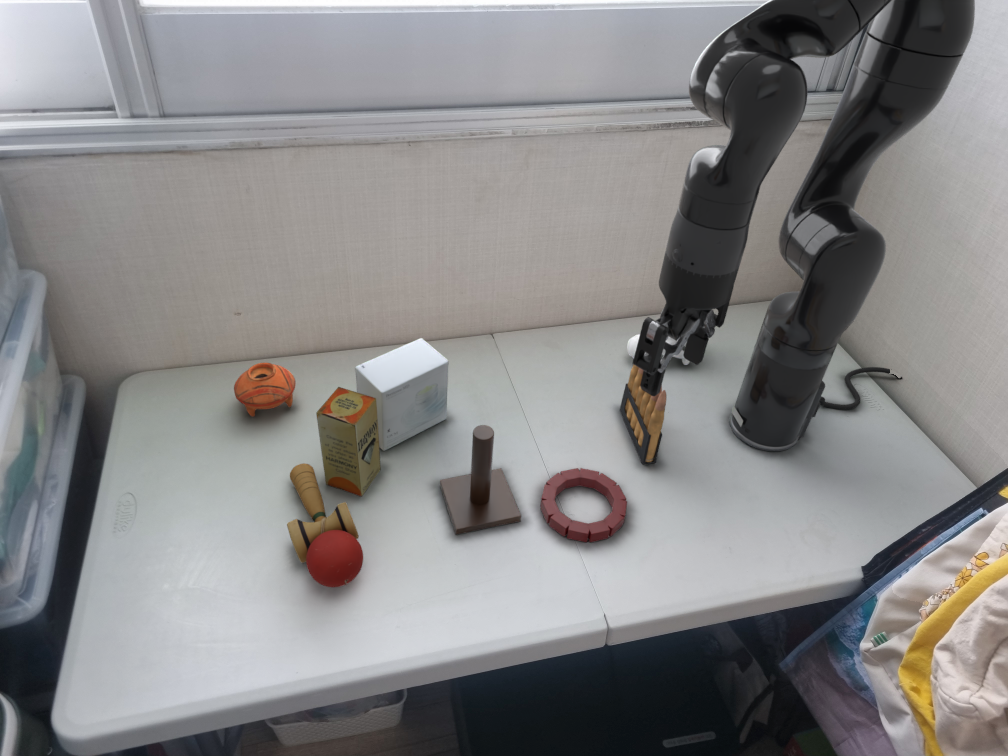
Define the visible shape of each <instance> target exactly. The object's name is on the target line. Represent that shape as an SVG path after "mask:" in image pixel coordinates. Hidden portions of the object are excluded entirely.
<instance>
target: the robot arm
mask: <svg viewBox="0 0 1008 756" xmlns="http://www.w3.org/2000/svg"><path fill="white" fill-rule="evenodd" d="M975 1H976V0H768V1H766V2H764V3H763V4H761V5H760V6H759V7H757V8H756V9H754V10H753V11H751V12H749V13H748V14H746V15H745V16H743V17H742V18H741V19H739V20H738V21H736V22H734V23H733V24H732V25H730V26H729V27H727V28H726V29H725V30H723V31H722V32H720V34H718V35H717V36H716V37H715V38H713V40H711V41H710V43H709V44H708V45H707V46H706V47H705V48H704V49H703V51H702V52H701V54H700V55H699V57H698V58H697V59H696V62H695V64H694V66H693V68H692V70H691V73H690V77H689V81H688V95H689V99H690V101H691V104H692V105H693V107H694V108H695V109H696V110H697V111H698V112H699V113H701V114H702V115H704V116H706V117H707V118H708V119H711V121H714V122H715V123H718V124H719V125H721V126H723V127H724V128H725V129H728V130H729V131H730V134H729V137H728V141H727V143H726V145H725V144H724V145H720V144H715V145H707V146H703V147H701V148H699V149H698V150H697V151H695V152H694V153H693V155H692V156H691V158H690V160H689V163H688V165H687V168H686V172H685V176H684V180H683V183H682V189H681V192H680V193H681V194H680V198H679V202H678V206H677V209H676V212H675V215H674V218H673V220H672V223H671V226H670V230H669V234H668V238H667V243H666V248H665V252H664V256H663V261H662V265H661V270H660V273H659V278H658V288H659V290H660V291H661V293H662V295H663V297H664V300H665V304H664V306H663V308H662V310H661V312H660V314H659V315H660V316H659V318H657V319H653V318H651V317H649V316H647V317H646V318H645V319H644V320H643V322H642V326H641V329H640V333H639V334H640V336H639V340H638V344H637V348H636V352H635V356H634V359H633V360H632V365H633V364H634V365H635V366H637V367H639V368H640V369H642V370H644V371H643V375H642V379H641V384H640V387H641V389H642V390H643V391H645V392H647V393H648V394H650V395H651V396H656V395H657V394H659V393H660V389H661V385H662V386H663V381H664V377H665V374H666V368H667V367H668V365H669V363H670V362H671V360H672V358H674V357H673V356H674V355H678V354H679V353H680V352H681V350H683V349H684V350H683V351H684V354H683V356H684V358H685V359H687V360H688V361H690V363H692V364H694V365H696V366H697V365H700V364H701V363H703V360H704V357H705V353H706V349H707V347H708V343H709V341H710V339H711V338H712V337H713V336H714V335H715V332H716V327H717V328H719V329H720V328H721V327H722V326H723V325H724V324H725V321H726V317H727V313H728V309H729V306H730V302H731V299H732V294H733V290H734V286H735V283H736V279H737V276H738V273H739V269H740V267H741V263H742V260H743V256H744V253H745V250H746V246H747V242H748V237H749V231H750V224H751V220H752V217H753V214H754V210H755V207H756V203H757V200H758V198H759V194H760V189H761V186H762V184H763V182H764V180H765V179H766V177H767V176H768V174H769V172H770V170H771V168H772V167H773V166H774V164H775V163H776V161H777V159H778V158H779V156H780V154H781V153H782V151H783V149H784V148H785V146H786V144H787V143H788V141H789V140H790V138H791V137H792V135H793V134H794V132H795V130H796V128H797V127H798V125H799V124H800V122H801V120H802V118H803V115H804V113H805V110H806V107H807V102H808V93H809V92H808V89H809V88H808V80H807V77H806V73H805V71H804V70H803V68H802V67H801V65H800V64H798V63H797V62H796V61H794V59H796V58H803V57H804V58H805V57H806V58H807V57H808V58H816V59H817V58H818V59H824V58H830V57H832V56H835V55H837V54H838V53H840V52H841V51H842V50H843V49H845V47H847V45H848V44H850V43H851V42H852V41H853V40H854V39H855V38H856V37H857V36H858V35H859V34H860V33H861V32H862V31H863V30H864V29H865V28H866V31H865V33H864V35H863V38H862V40H861V43H860V46H859V47H858V50H857V53H856V56H855V58H854V60H853V61H854V62H853V64H852V66H851V70H850V72H849V75H848V77H847V81H846V84H845V86H844V89H843V92H842V94H841V97H840V99H839V101H838V104H837V106H836V109H835V111H834V113H833V116H832V118H831V120H830V123H829V125H828V127H827V130H826V132H825V134H824V137H823V139H822V142H821V144H820V147H819V149H818V151H817V153H816V155H815V157H814V159H813V161H812V163H811V165H810V167H809V169H808V170H807V173H806V174H805V177H804V178H803V181H802V183H801V185H800V186H799V188H798V190H797V192H796V194H795V196H794V198H793V200H792V202H791V204H790V206H789V207H788V209H787V211H786V214H785V216H784V219H783V221H782V224H781V226H780V229H779V232H778V238H777V244H778V245H777V246H778V250H779V253H780V255H781V257H782V259H783V260H784V261H785V263H786V264H787V266H789V267H790V268H791V269H792V270H793V271H794V272H795V273H796V274H797V275H798V277H799V278H800V279H801V280H802V284H801V287H800V290H799V291H798V290H797V291H796V290H794V291H786V292H781V293H780V294H778V295H776V296H775V297H773V298H772V299H771V301H770V302H769V304H768V306H767V309H766V312H765V316H764V318H763V320H762V324H761V326H760V328H759V329H760V330H759V332H758V336H757V339H756V341H755V345H754V347H753V350H752V354H751V356H750V359H749V362H748V365H747V368H746V371H745V374H744V377H743V380H742V383H741V385H740V388H739V392H738V394H737V397H736V399H735V403H734V405H733V406H732V408H731V412H730V414H729V415H730V416H729V426H730V428H731V430H732V432H733V433H734V435H735V436H736V437H737V438H738V439H740V441H742V442H744V443H745V444H747V445H749V446H751V447H752V448H755V449H758V450H762V451H767V452H783V451H786V450H789V449H791V448H792V447H794V446H795V445H796V444H797V442H798V440H799V439H801V438H804V437H805V435H806V432H807V430H808V428H809V425H810V424H811V421H812V418H816V416H817V413H818V412H819V409H820V407H824V408H828V409H833V410H840V411H841V410H842V411H847V410H853V409H856V408H858V407H859V405H860V404H861V396H860V394H859V392H858V390H857V389H856V388H855V386H854V385H853V383H852V381H851V378H852V377H854V376H857V375H861V374H864V373H884V374H888V375H890V376H893V377H895V378H896V379H897V380H900V379H899V378H898V377H897V376H896V375H894V374H889V373H890V369H891V368H886V367H879V366H868V367H861V368H856V369H853V370H851V371H849V372H848V373H846V375H845V376H844V383H845V385H846V387H847V388H848V390H849V392H850V393H851V395H852V396H853V398H854V402H852V403H848V404H839V403H832V402H828V401H826V398H825V397H823V396H822V395H823V393H824V390H825V388H826V383H825V382H824V377H825V374H826V373H827V370H828V367H829V365H830V362H831V360H832V358H833V355H834V353H835V351H836V349H837V346H838V344H839V341H840V340H841V338H842V335H843V334H844V333H845V332H846V331H847V330H848V328H850V327H851V325H852V324H853V323H854V322H855V320H856V318H857V317H858V315H859V314H860V311H861V309H862V308H863V306H864V303H865V301H866V300H867V297H868V296H869V293H870V292H871V290H872V288H873V286H874V284H875V282H876V280H877V278H878V276H879V275H880V272H881V269H882V267H883V264H884V261H885V257H886V252H887V248H886V247H887V245H886V244H887V243H886V240H885V237H884V235H883V234H882V233H881V232H880V230H878V228H876V227H875V226H874V225H872V223H871V222H869V221H868V220H867V219H865V218H864V217H863V216H862V215H861V214H860V213H858V212H857V211H856V210H855V208H856V203H857V200H858V199H859V195H860V192H861V190H862V188H863V185H864V184H865V181H866V179H867V177H868V175H869V174H870V171H872V168H873V167H874V165H875V163H877V161H878V160H879V158H880V157H881V156H882V155H883V154H884V153H885V152H886V151H888V150H889V149H890V148H891V147H892V146H893V145H894V144H896V143H897V142H898V141H900V140H901V139H902V138H903V137H904V136H906V135H907V134H908V133H910V132H911V131H913V129H915V128H916V127H917V126H918V125H919V124H920V123H921V122H923V121H924V120H925V119H926V118H927V117H928V116H929V115H930V114H932V112H933V111H934V110H935V108H937V106H938V105H939V103H940V102H941V101H942V99H943V97H944V95H945V94H946V92H947V90H948V88H949V85H950V84H951V81H952V80H953V78H954V75H955V73H956V71H957V69H958V67H959V65H960V63H961V60H962V58H963V57H964V54H965V53H966V50H967V48H968V46H969V43H970V42H971V39H972V35H973V31H974V26H975V15H976V13H975V12H976V11H975V10H976V2H975ZM715 309H716V310H717V313H715V311H714V310H715ZM668 336H669V337H670V338H672V339H674V340H676V343H675V344H674V345H670V344H669V343H667V342H666V340H667V339H668ZM686 341H687V343H686ZM685 343H686V346H684V345H685ZM663 349H665V354H664V355H662V352H663ZM645 352H646V353H645Z"/></svg>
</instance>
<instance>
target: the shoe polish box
mask: <svg viewBox="0 0 1008 756" xmlns="http://www.w3.org/2000/svg"><path fill="white" fill-rule="evenodd" d="M316 423H317V428H318V436H319V437H318V438H319V443H320V451H321V458H322V466H323V473H324V481H325V485H326V486H329V487H332V488H335V489H338V490H340V491H344V492H346V493H349V494H353V495H356V496H358V497H360V498H361V497H363V496H364V494H365V493H366V492H367V490H368V488H370V486H371V484H372V483H373V481H374V480H375V479H376V478H377V476H378V474H379V473H380V471H381V468H382V466H381V452H380V449H381V448H380V447H379V434H378V419H377V403H376V398H374V397H371V396H367V395H364V394H361V393H357V391H354V390H351V389H347V388H344V387H341V386H338V387H337V388H336V389H335V390H334V391H333V393H332V394H331V395H330V396H329V397H328V398H327V400H325V402H324V403H323V404H322V405H321V406H320V407H319V409H318V410H316Z"/></svg>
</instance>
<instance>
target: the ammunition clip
mask: <svg viewBox="0 0 1008 756" xmlns="http://www.w3.org/2000/svg"><path fill="white" fill-rule="evenodd" d="M643 371H644V370H642V369H640V368H639V367H637V366H635V365H634V364H633V363H632V367H631V370H630V373H629V376H628V377H629V378H628V382H627V383H625V386H624V390H623V394H622V398H621V403H620V406H619V412H620V415H621V417H622V419H623V422H624V424H625V427H626V428H627V431H628V434H629V436H630V439H631V441H632V443H633V446H634V449H635V450H636V453H637V456H638V458H639V460H640V462H641V464H642V465H648V464H649V465H650V464H657V463H656V462H657V458H658V454H659V451H660V446H661V442H662V438H663V432H662V429H663V425H664V421H665V412H666V405H667V391H666V389H663V384H662V385H661V389H660V393H659V394H657V395H656V396H651V395H650V394H648V393H647V392H645V391H643V390H642V389H641V387H640V384H641V379H642V375H643Z"/></svg>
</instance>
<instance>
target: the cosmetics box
mask: <svg viewBox="0 0 1008 756" xmlns="http://www.w3.org/2000/svg"><path fill="white" fill-rule="evenodd" d="M449 362H450V361H449V360H448V359H447V358H446V357H445V356H444V355H443V354H442V353H440V352H439V351H438V350H437V349H435V347H433V346H432V345H431V344H429V342H427V341H426V340H425V339H424V338H422V337H420V338H418V339H415V340H413V341H411V342H408V343H406V344H403V345H401V346H400V347H397V348H395V349H393V350H390V351H388V352H385V353H383V354H381V355H379V356H376V357H374V358H371V359H369V360H368V361H365V362H362V363H360V364H358V365H356V366H355V367H354V371H355V384H356V392H357V393H361V394H364V395H367V396H371V397H374V398H376V403H377V419H378V434H379V449H381V450H382V451H383V452H385V451H387V450H389V449H391V448H393V447H395V446H397V445H399V444H401V443H402V442H405V441H406V440H408V439H410V438H413V437H414V436H416V435H418V434H420V433H421V432H424V431H426V430H428V429H429V428H431V427H433V426H435V425H437V424H439V423H442V422H443V421H445V420H447V419H448V418H447V417H448V416H447V415H448V414H447V413H448V412H447V410H448V407H447V406H448V390H449V389H448V387H449V386H448V385H449V384H448V382H449Z"/></svg>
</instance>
